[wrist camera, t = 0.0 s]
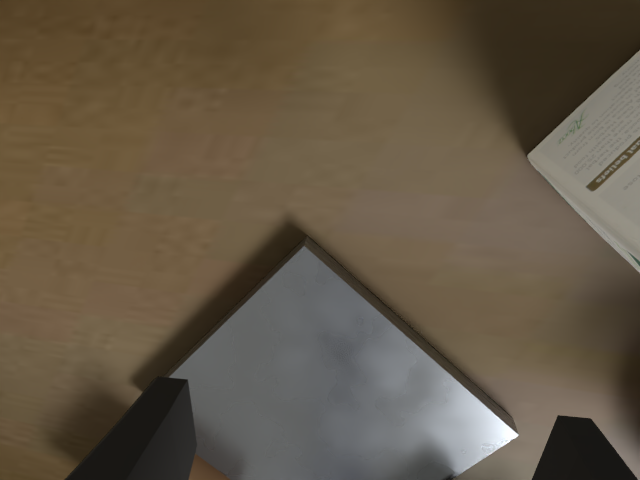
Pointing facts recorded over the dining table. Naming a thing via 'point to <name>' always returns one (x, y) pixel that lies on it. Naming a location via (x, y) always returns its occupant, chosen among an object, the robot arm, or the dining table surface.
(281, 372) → the grey square baseplate
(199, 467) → the block
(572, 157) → the syrup box
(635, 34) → the dining table surface
